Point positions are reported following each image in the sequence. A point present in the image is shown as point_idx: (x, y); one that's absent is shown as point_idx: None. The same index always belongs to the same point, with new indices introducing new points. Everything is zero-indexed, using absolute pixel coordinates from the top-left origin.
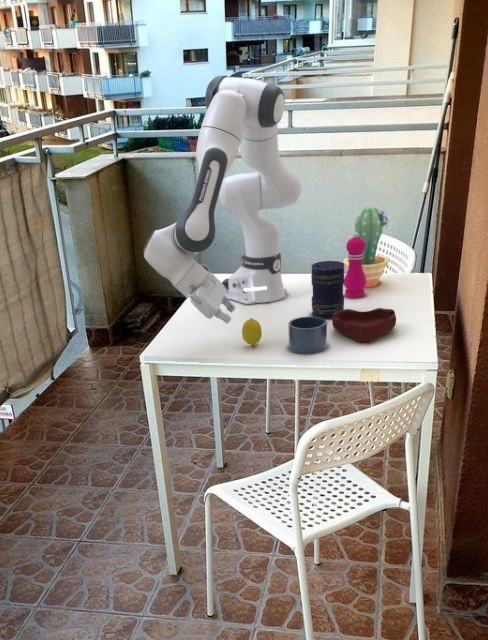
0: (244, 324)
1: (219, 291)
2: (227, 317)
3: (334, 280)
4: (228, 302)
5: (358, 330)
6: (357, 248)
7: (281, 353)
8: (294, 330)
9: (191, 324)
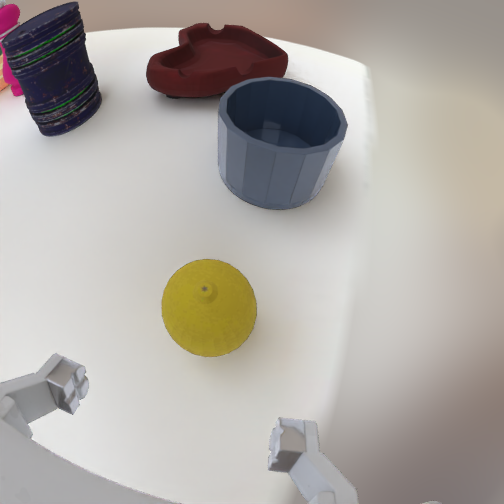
0: (214, 336)
1: (7, 480)
2: (316, 442)
3: (82, 28)
4: (33, 392)
5: (277, 65)
6: (15, 13)
7: (309, 237)
8: (329, 154)
9: None
